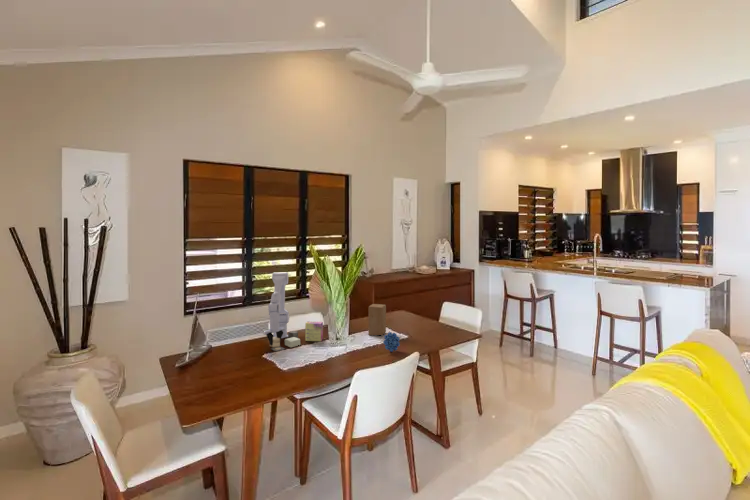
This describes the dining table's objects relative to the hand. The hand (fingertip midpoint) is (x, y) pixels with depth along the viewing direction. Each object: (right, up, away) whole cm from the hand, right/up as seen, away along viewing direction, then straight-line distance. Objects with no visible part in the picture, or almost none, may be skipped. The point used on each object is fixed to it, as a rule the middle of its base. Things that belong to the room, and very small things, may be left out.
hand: (274, 343), depth 234 cm
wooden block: (+64, 0, +28) cm, 70 cm away
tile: (+4, -2, -6) cm, 7 cm away
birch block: (0, -1, 0) cm, 1 cm away
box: (+23, -1, +13) cm, 26 cm away
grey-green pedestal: (+11, -2, +2) cm, 11 cm away
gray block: (+8, -1, +14) cm, 17 cm away
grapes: (+73, -3, -11) cm, 74 cm away
